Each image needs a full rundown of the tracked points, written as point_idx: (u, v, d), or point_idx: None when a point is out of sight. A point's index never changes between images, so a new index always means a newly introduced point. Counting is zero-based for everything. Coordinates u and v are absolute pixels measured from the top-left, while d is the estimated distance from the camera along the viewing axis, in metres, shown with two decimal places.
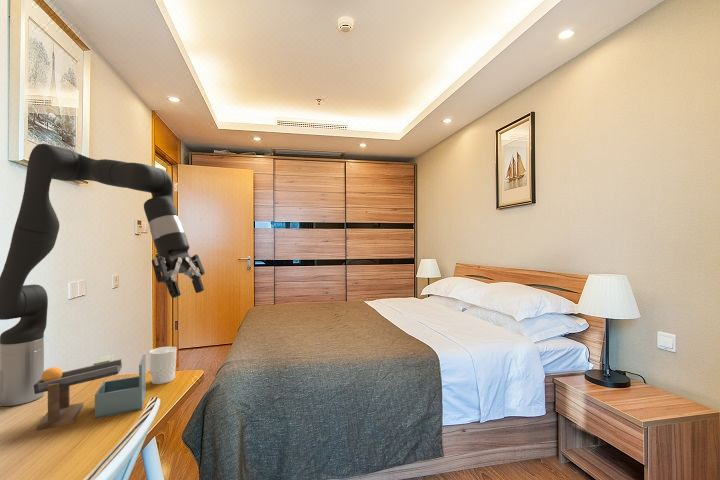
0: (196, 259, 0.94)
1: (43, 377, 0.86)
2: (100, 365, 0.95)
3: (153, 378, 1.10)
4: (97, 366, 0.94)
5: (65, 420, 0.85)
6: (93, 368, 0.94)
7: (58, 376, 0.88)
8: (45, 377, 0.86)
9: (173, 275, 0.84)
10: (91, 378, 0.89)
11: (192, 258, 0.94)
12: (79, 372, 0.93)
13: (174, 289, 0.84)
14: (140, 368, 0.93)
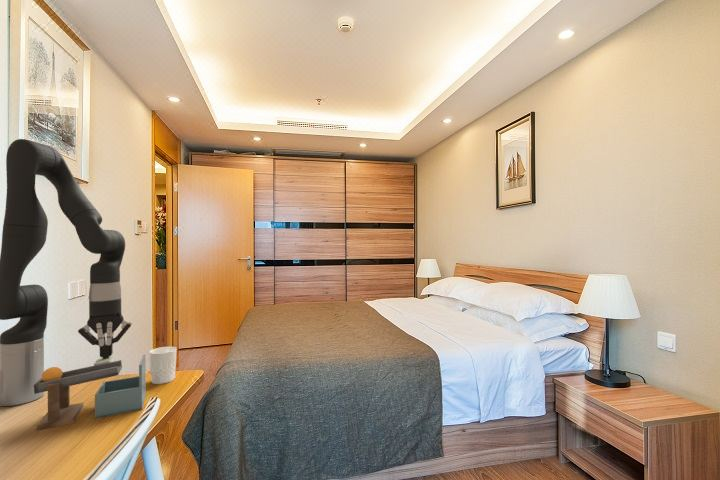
0: (124, 327, 1.01)
1: (43, 377, 0.86)
2: (100, 366, 0.95)
3: (153, 378, 1.10)
4: (97, 367, 0.95)
5: (65, 420, 0.85)
6: (93, 368, 0.94)
7: (58, 376, 0.88)
8: (45, 377, 0.86)
9: (101, 341, 0.98)
10: (91, 379, 0.89)
11: (124, 324, 1.01)
12: (79, 372, 0.93)
13: (101, 353, 0.98)
14: (140, 368, 0.93)
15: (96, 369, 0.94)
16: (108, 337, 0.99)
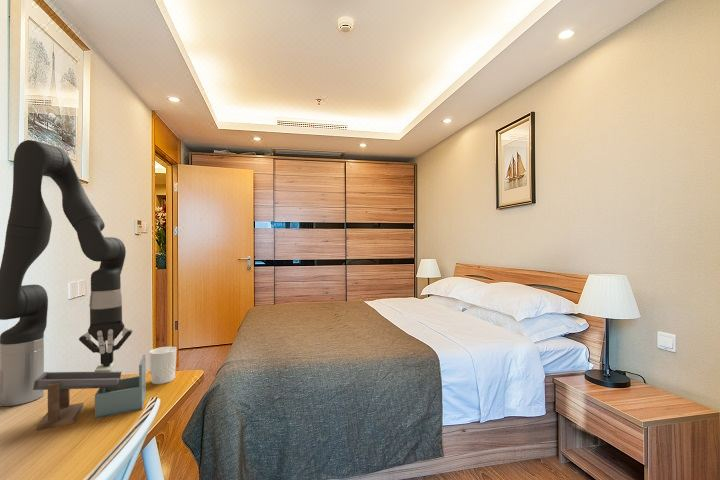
0: (124, 334, 1.01)
1: None
2: (100, 373, 0.95)
3: (153, 378, 1.10)
4: (97, 374, 0.94)
5: (65, 420, 0.85)
6: (93, 374, 0.94)
7: None
8: None
9: (102, 348, 0.98)
10: (90, 386, 0.89)
11: (125, 331, 1.01)
12: (79, 376, 0.93)
13: (102, 360, 0.98)
14: (140, 368, 0.93)
15: (95, 376, 0.94)
16: (109, 345, 0.99)
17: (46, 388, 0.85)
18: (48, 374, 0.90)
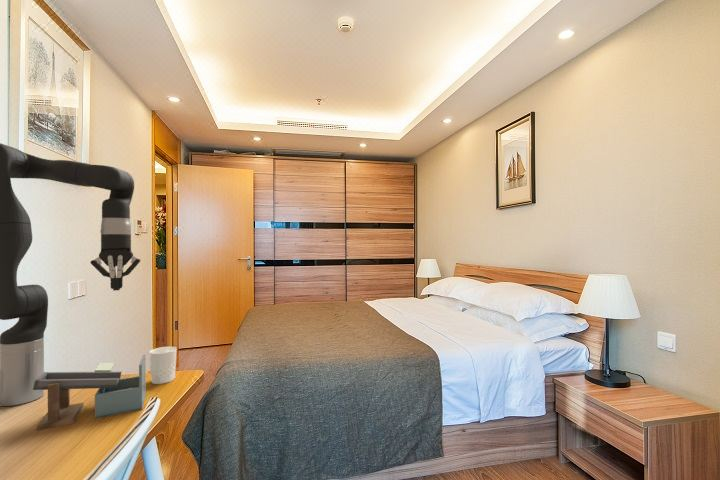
0: (133, 261, 1.06)
1: None
2: (100, 373, 0.95)
3: (153, 378, 1.10)
4: (97, 374, 0.94)
5: (65, 420, 0.85)
6: (93, 374, 0.94)
7: None
8: None
9: (112, 273, 1.03)
10: (90, 386, 0.89)
11: (133, 259, 1.07)
12: (79, 376, 0.93)
13: (112, 284, 1.04)
14: (140, 368, 0.93)
15: (95, 376, 0.94)
16: (118, 270, 1.04)
17: (46, 388, 0.85)
18: (48, 374, 0.90)
